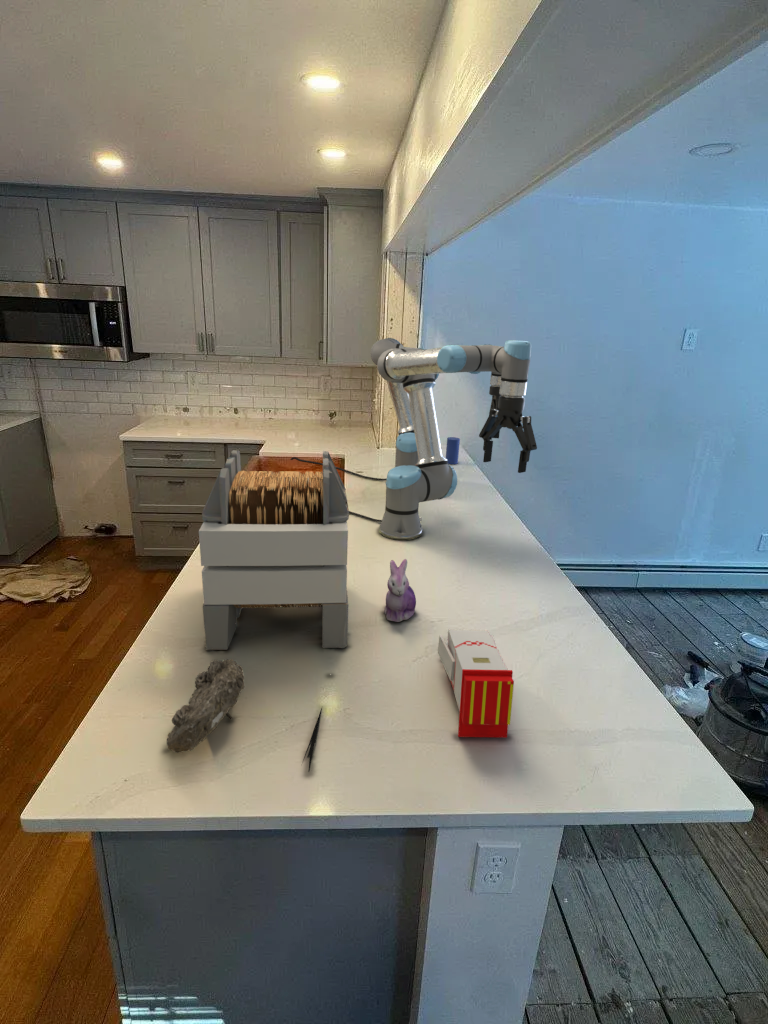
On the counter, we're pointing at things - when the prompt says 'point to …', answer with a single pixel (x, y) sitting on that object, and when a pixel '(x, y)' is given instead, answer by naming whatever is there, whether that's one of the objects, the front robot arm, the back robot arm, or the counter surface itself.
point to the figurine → (399, 594)
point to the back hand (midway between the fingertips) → (493, 434)
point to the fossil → (206, 705)
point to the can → (452, 450)
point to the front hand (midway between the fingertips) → (503, 466)
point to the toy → (478, 682)
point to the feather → (313, 740)
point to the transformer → (274, 548)
